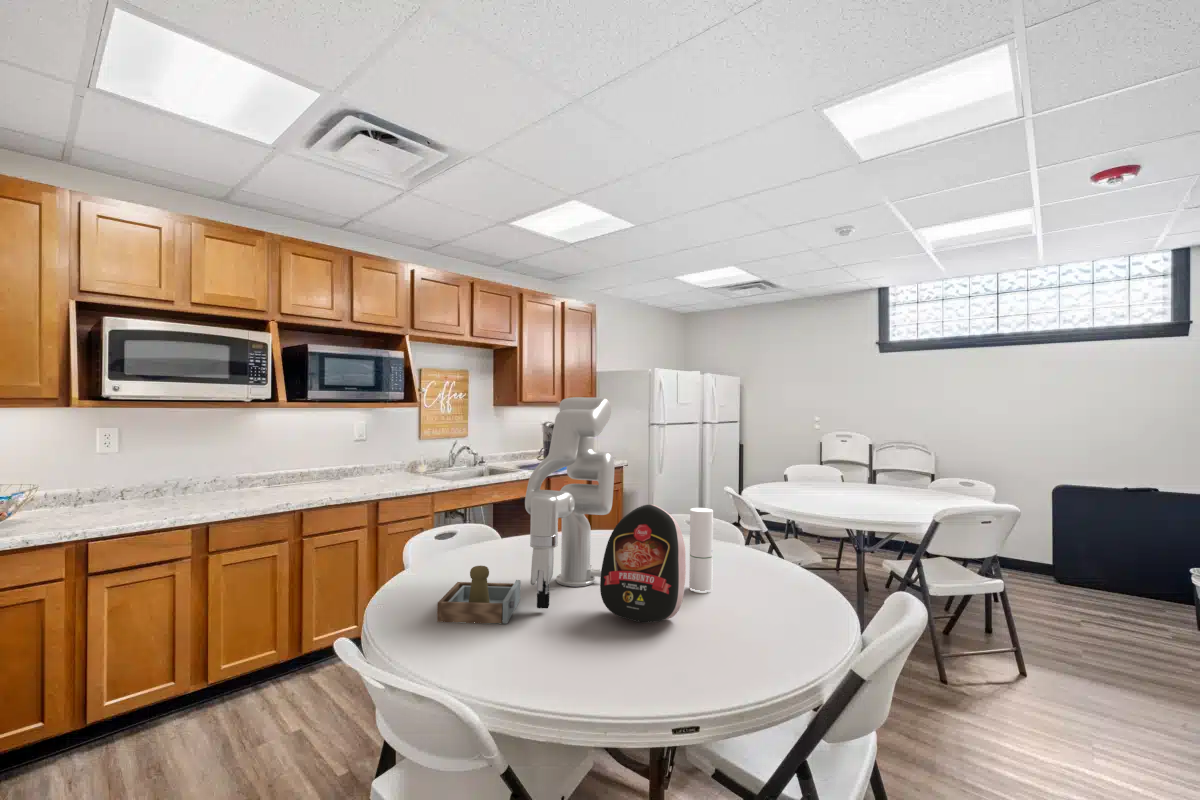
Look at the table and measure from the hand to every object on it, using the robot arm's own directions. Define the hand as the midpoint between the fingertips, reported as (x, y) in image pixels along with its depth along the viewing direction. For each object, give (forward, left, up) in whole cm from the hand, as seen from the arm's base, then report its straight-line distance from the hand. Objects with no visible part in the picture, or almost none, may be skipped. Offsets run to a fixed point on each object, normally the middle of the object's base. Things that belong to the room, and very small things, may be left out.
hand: (543, 607), depth 147 cm
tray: (+16, 0, -1) cm, 16 cm away
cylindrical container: (-46, -23, -2) cm, 52 cm away
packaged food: (-27, +1, -2) cm, 28 cm away
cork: (+18, 0, -1) cm, 18 cm away
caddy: (+18, 0, -2) cm, 18 cm away
